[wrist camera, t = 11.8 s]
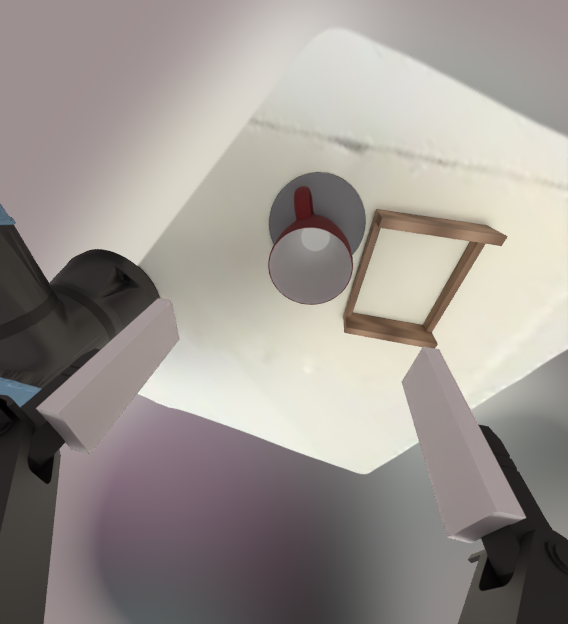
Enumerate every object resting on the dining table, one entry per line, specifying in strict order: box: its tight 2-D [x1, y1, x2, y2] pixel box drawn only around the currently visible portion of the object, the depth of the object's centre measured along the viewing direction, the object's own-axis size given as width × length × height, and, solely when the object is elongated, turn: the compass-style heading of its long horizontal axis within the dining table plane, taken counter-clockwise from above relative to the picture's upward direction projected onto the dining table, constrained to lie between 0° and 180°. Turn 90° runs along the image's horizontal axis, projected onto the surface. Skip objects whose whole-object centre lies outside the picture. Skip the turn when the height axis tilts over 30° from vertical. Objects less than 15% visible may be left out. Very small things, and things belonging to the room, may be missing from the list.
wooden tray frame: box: [343, 209, 507, 349], centre depth 31 cm, size 13×16×4 cm
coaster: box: [269, 172, 366, 255], centre depth 31 cm, size 12×12×1 cm
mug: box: [268, 186, 353, 305], centre depth 27 cm, size 11×8×10 cm
